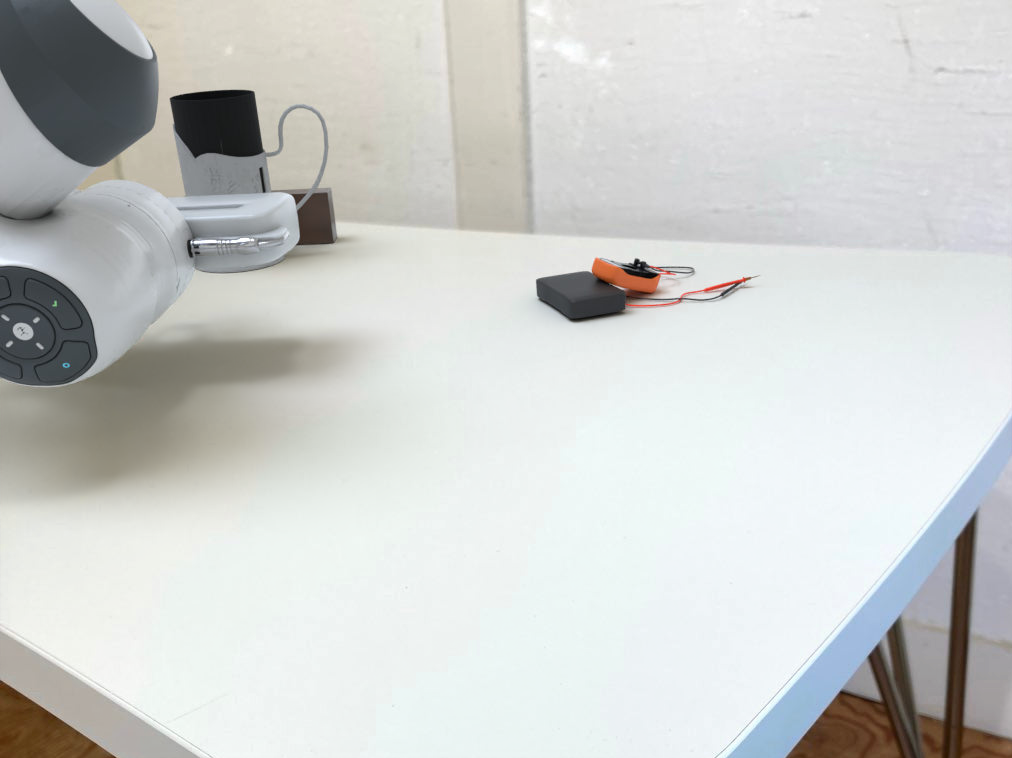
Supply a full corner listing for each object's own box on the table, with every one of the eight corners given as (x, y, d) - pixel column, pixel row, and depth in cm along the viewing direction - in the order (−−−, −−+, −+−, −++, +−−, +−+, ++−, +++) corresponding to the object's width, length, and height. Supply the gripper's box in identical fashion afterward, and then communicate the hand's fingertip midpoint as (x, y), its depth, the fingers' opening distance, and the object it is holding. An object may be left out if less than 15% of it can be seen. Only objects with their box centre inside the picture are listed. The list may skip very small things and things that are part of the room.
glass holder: (201, 252, 106) (171, 92, 99) (343, 242, 107) (324, 83, 100) (186, 275, 98) (153, 103, 91) (340, 264, 99) (319, 93, 92)
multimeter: (710, 258, 95) (712, 219, 94) (777, 293, 85) (780, 250, 83) (518, 283, 91) (517, 243, 89) (564, 323, 81) (563, 279, 79)
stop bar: (196, 249, 107) (186, 199, 105) (202, 243, 110) (193, 194, 107) (333, 243, 107) (327, 192, 105) (337, 237, 109) (331, 187, 107)
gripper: (272, 196, 68) (309, 158, 80) (-45, 211, 68) (40, 171, 80) (287, 293, 71) (320, 242, 83) (-17, 307, 71) (61, 254, 83)
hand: (180, 207), depth 81 cm, fingers closed
